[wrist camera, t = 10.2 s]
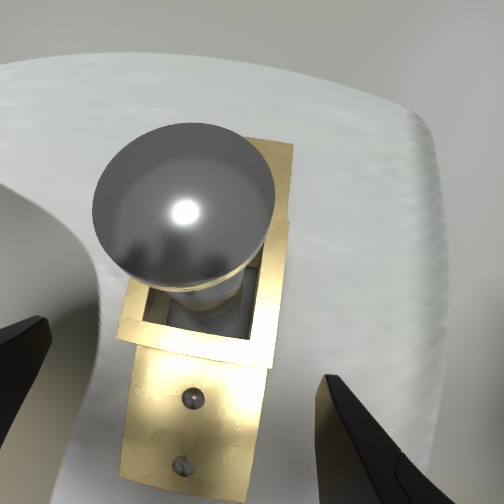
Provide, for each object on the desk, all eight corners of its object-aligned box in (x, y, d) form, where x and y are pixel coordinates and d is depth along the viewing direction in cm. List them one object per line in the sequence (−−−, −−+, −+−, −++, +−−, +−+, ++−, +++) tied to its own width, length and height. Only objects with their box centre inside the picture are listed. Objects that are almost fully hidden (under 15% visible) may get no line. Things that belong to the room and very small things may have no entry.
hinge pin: (225, 353, 16) (208, 323, 6) (161, 313, 17) (60, 222, 6) (263, 289, 18) (306, 166, 7) (200, 254, 18) (165, 104, 8)
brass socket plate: (244, 498, 13) (248, 533, 9) (123, 472, 13) (93, 497, 9) (291, 151, 22) (302, 106, 17) (195, 138, 22) (189, 92, 17)
